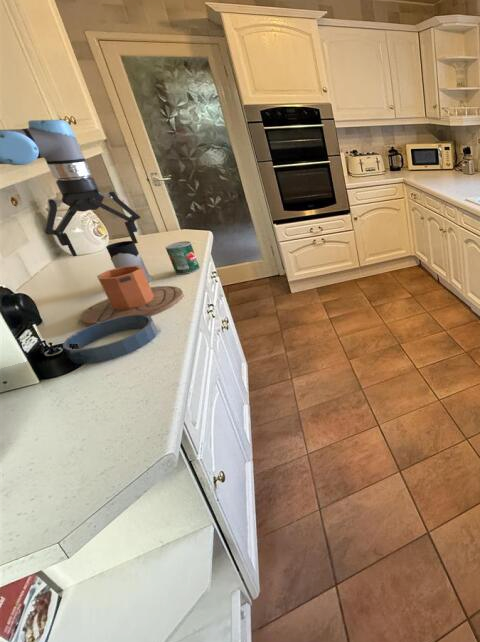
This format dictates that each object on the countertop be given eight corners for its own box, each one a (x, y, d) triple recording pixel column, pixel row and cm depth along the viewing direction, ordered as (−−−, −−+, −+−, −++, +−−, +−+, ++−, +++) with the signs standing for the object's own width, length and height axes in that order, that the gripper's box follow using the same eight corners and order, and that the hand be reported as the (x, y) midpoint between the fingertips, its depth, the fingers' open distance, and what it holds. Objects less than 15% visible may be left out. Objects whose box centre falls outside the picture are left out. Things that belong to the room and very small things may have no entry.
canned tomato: (173, 271, 156) (162, 245, 152) (197, 265, 162) (187, 239, 157) (178, 276, 152) (167, 249, 147) (202, 269, 157) (193, 243, 153)
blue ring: (54, 373, 98) (43, 354, 96) (103, 335, 113) (95, 319, 111) (135, 362, 101) (126, 344, 99) (172, 327, 117) (165, 311, 114)
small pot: (159, 302, 128) (145, 271, 123) (118, 315, 120) (102, 282, 116) (148, 291, 135) (135, 262, 131) (109, 303, 128) (93, 272, 123)
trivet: (77, 338, 112) (73, 332, 112) (88, 306, 130) (85, 301, 129) (185, 309, 127) (183, 304, 126) (182, 284, 145) (181, 279, 144)
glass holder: (118, 288, 142) (100, 250, 136) (129, 275, 154) (112, 239, 148) (149, 283, 146) (132, 245, 140) (157, 270, 158) (142, 234, 151)
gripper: (7, 186, 100) (47, 263, 108) (134, 172, 118) (161, 239, 126) (5, 183, 104) (44, 258, 113) (128, 170, 122) (154, 235, 131)
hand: (106, 248), depth 120 cm, fingers open, 13 cm apart
